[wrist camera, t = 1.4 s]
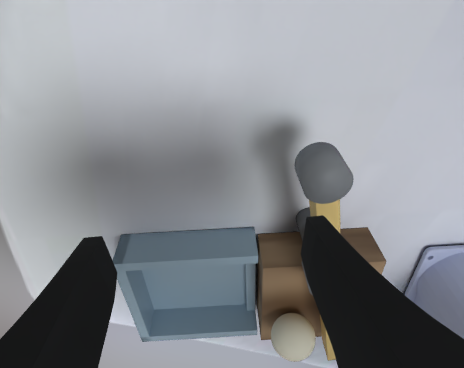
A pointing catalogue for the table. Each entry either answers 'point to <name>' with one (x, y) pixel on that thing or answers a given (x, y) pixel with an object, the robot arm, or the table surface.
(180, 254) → the shallow square tray
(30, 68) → the table surface
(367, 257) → the block
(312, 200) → the lever
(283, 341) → the ball
